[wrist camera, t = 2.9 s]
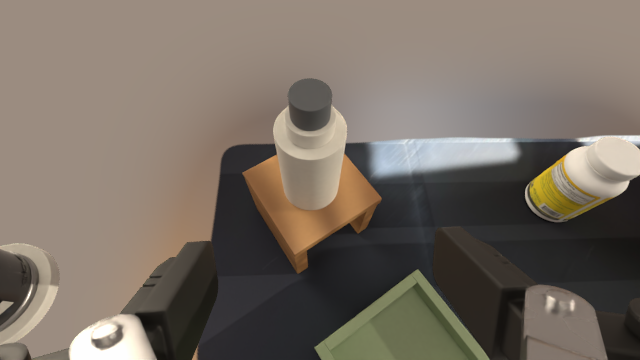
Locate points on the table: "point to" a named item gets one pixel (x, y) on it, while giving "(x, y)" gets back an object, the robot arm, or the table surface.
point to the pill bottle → (583, 179)
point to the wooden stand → (309, 225)
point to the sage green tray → (403, 329)
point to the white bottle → (310, 145)
